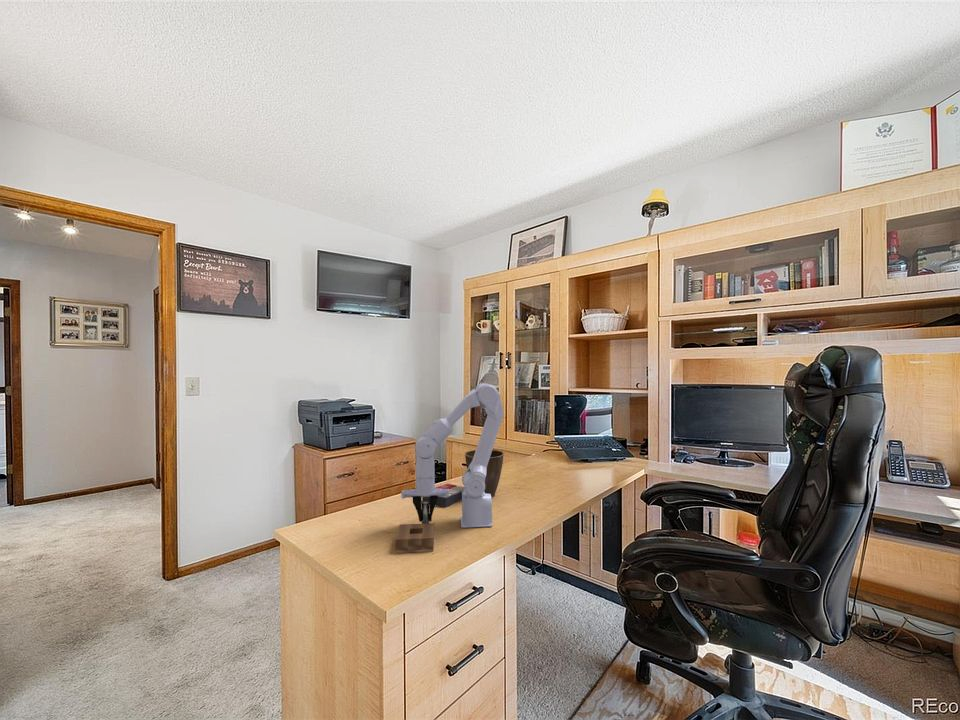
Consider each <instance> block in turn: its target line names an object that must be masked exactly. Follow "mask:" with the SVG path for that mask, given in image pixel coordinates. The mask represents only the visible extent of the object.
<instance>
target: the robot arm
mask: <svg viewBox="0 0 960 720" xmlns="http://www.w3.org/2000/svg"><path fill="white" fill-rule="evenodd" d="M481 406H483V407H482V408H484V411H485V413H486V415H487V416H486V419H485V421H484V424H483V428H482V430H481V434H480V437H479V439H478V442H477V446H476V447H475V450H476V451H475V454H474V457H473V460H472V462H471V463H470V465H469V468H468V470H466V471H464V473H463V475H462V477H461V482H462V485H463V487H465V489H464V491H463V492H462V500H461V516H460V526H461V528H467V529H468V528H488V527H491V528H492V527H493V504H492V502H493V501H492V497H491V494H486V493H485V492H484V491H485V478H486V469H487V465H488V462H489V459H490V456H491V452H492V450H494V449H493V448H494V446H495V443H496V440H497V436H498V434H499V431H500V428H501V425H502V423H503V419H504V415H505V411H504V407H503V403H502V397H501V394H500V392H499V390H498V389H497V388H496V387H495V385H493V384H490V383H486V382H481V383H479V384H477V385H476V386H475V387H474V389H471V390H470V391H469V392H468V393H467V394H466V395H465V396H464V397H463V398H462V399H461V401H460V402H459V403H458V404H457V405H456V406H455V407H454V408H453V410H452V411H451V412H450V413H449V414H448V415H447V416H446V417H445V418H439V419H438V420H436V419H435V420H434V421H433V423H432V424H433V425H432V426H431V427H430V428H429V429H428V430H427V431H426V432H423V433H422V436H421V437H420V438H418V439H417V441H416V444H415V451H416V461H415V488H412V489H406V490H405V489H404V490H403V489H402V490H401V496H400V497H401V499H402V500H403V499H407V498H412V504H413V506H414V507H415V511H416V513H417V515H418V522H421V523H422V497H430V500H429V503H430V504H429V522H432V521H433V520H432V519H433V514H434V511H435V507H436V506H435V505H436V503H437V501H438V497H440V496H445V497H449V489H439V488H436V487H435V483H436V482H435V481H436V479H435V478H436V477H435V460H434V454H435V453H436V448H437V447H439V446H441V444H443V442H444V441H445V440H446V439H447V438H448V437H449V436H450V434H452V433H453V428H454V425H455V424H456V423H457V422H458V421H459V420H460V419H461V418H462V417H463V416H464V415H465V414H466V413H467V412H468V411H469V410H470V409H472V408H476V407H481Z"/></svg>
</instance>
